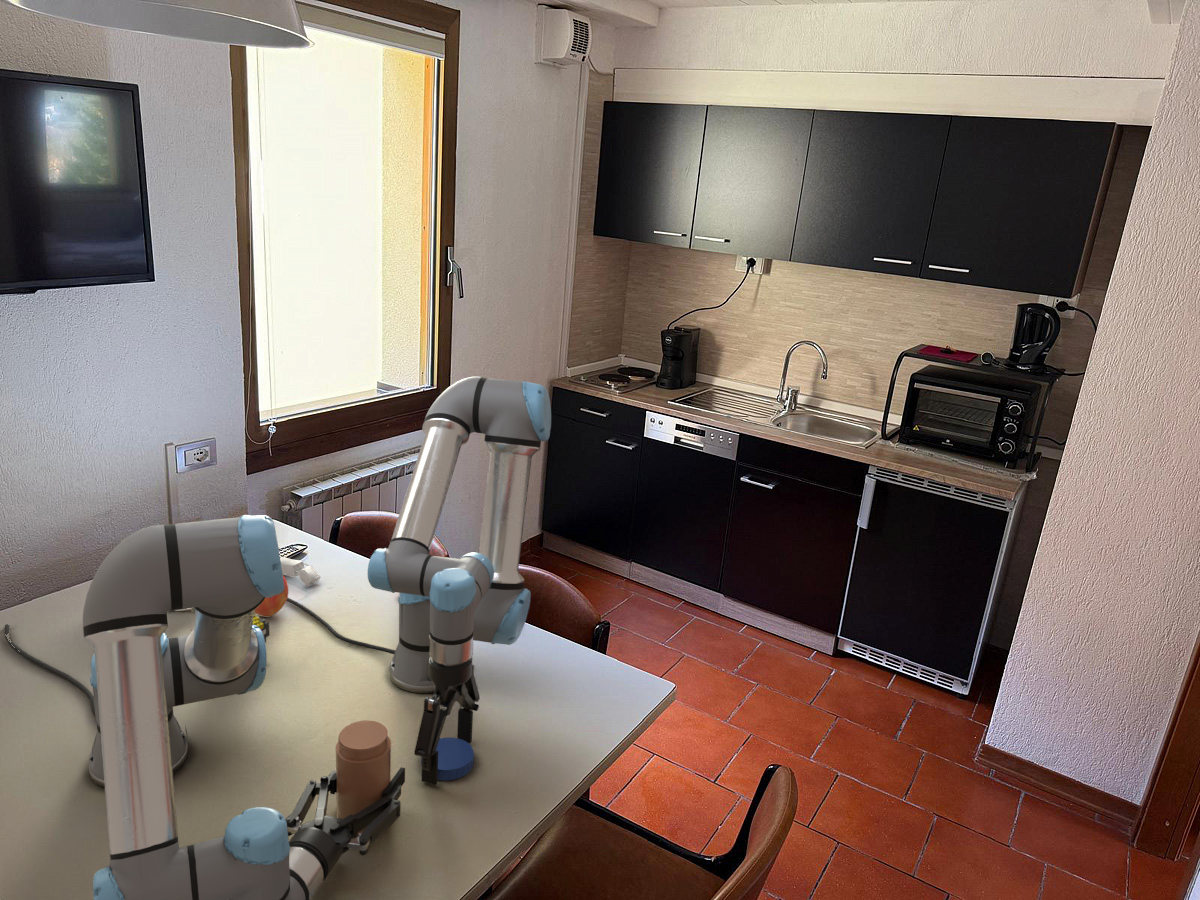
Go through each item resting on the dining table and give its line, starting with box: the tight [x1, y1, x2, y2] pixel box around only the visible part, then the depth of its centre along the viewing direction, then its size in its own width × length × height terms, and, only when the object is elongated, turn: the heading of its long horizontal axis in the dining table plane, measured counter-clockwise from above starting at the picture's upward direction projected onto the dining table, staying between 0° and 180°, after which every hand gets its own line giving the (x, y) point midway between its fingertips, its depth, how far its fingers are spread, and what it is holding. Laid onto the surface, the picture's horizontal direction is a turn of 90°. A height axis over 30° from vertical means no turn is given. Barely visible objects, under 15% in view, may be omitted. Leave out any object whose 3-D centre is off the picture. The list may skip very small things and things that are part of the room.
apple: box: [255, 575, 289, 618], centre depth 199 cm, size 10×10×10 cm
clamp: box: [278, 546, 322, 587], centre depth 219 cm, size 20×4×7 cm, turn 62°
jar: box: [335, 719, 392, 836], centre depth 139 cm, size 9×9×16 cm
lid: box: [420, 736, 475, 781], centre depth 155 cm, size 9×9×2 cm
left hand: (377, 768), depth 144 cm, fingers closed on jar, 9 cm apart
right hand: (447, 760), depth 155 cm, fingers open, 12 cm apart
